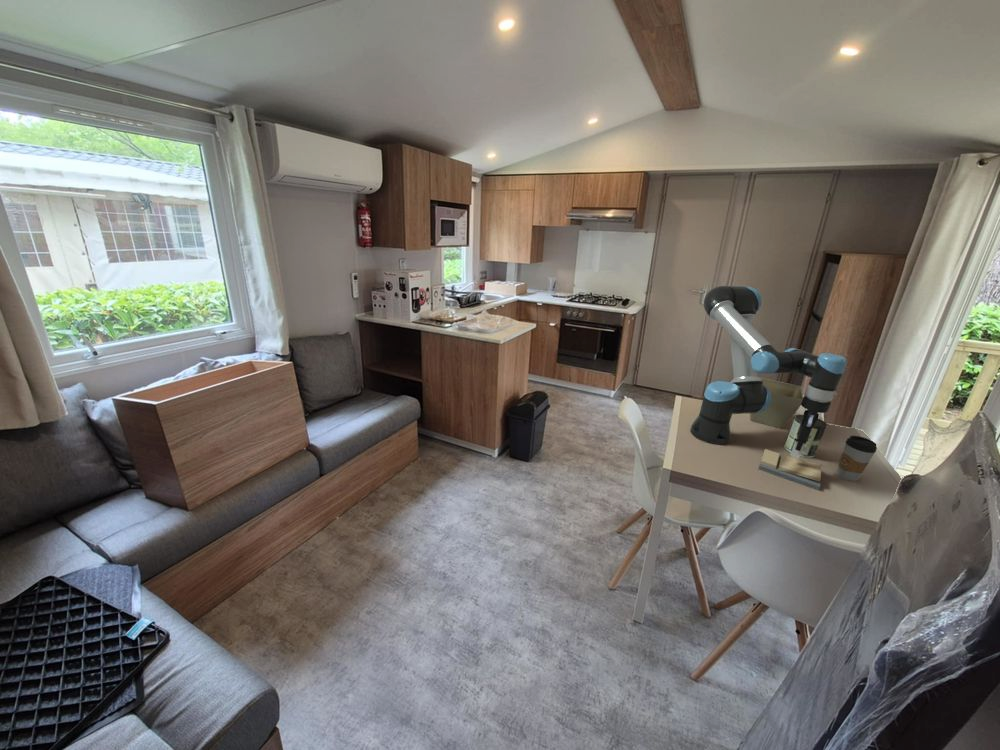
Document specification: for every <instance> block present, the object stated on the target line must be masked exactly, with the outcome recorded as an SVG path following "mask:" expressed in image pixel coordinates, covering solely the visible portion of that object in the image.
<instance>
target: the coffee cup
mask: <svg viewBox="0 0 1000 750" xmlns="http://www.w3.org/2000/svg"><path fill="white" fill-rule="evenodd" d="M877 449H878V447H877V443H876V442H874V441H873V440H871V439H868V438H866V437H863V436H860V435H850V436H849V437H848V438H846V440H845V445H844V448H843V450H842V453H841V455H840V459H839V462H838V465H837V467H836V468H837V469H836V474H837V476H839V477H841V478H842V479H844V480H847V481H851V482H856V481H858V480H859V479H860V477H862V474H863V473H864V471H865V470H866V468H867V467H868V464H869V463H870V461H871V460H872V457H873V456H874V454H875V453H877Z"/></svg>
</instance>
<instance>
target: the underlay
mask: <svg viewBox="0 0 1000 750" xmlns="http://www.w3.org/2000/svg"><path fill="white" fill-rule="evenodd" d="M781 456H782V454H780V453H779V452H775V451H772V450H770V449H767V448H765V449H764V451H763V453H762V456H761V459H760V463H759V466H758V470H760V471H763V472H766V473H768V474H771V475H774V476H777V477H780V478H782V479H785V480H788V481H791V482H794V483H796V484H800V485H802V486H805V487H808V488H811V489H813V490H817V491H819V490H820V488H821V481H820V482H819V481H816V480H812V479H809V478H806V477H802V476H799V475H795V474H792V473H789V472H785V471H782V470H778V468H779V464H780V460H781Z"/></svg>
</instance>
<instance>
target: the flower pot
mask: <svg viewBox="0 0 1000 750" xmlns="http://www.w3.org/2000/svg"><path fill="white" fill-rule="evenodd" d="M758 377H759V378H760V379H761V380H762V381H763V386H765V387H767V388H768V390H769V391H770V393H771V402H770V405H769V406H768V407H767V408H766V410H764V411H762V412H759V413H754V414H749V420H750V421H751V422H755V423H758V424H763V425H767V426H771V427H774V428H778V429H783V428H784V427H785V426H786V425H787V424H788V423H789V422H790V420H791V419H793V417H795V414H796V413H797V412H798V411H799V409H800V407H801V406H802V405H801V403H802V400H803V397H804V395H803V389H802V388H803V387H802V386H801V385H796V384H792V383H788V382H787V383H786V382H783V381H777V380H773V379H769V378H764V377H760V376H758Z"/></svg>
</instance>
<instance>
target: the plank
mask: <svg viewBox="0 0 1000 750" xmlns="http://www.w3.org/2000/svg"><path fill="white" fill-rule="evenodd" d="M781 455H782V456H781V460H780V464H779V468H778V470H782V471H785V472H789V473H792V474H795V475H799V476H802V477H806V478H809V479H812V480H816V481H819V482H820V483H821V479H822V464H818V463H815V462H811V461H808V460H803V459H800V458H796V457H792V456H790V455H785V454H783V453H782V454H781Z"/></svg>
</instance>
